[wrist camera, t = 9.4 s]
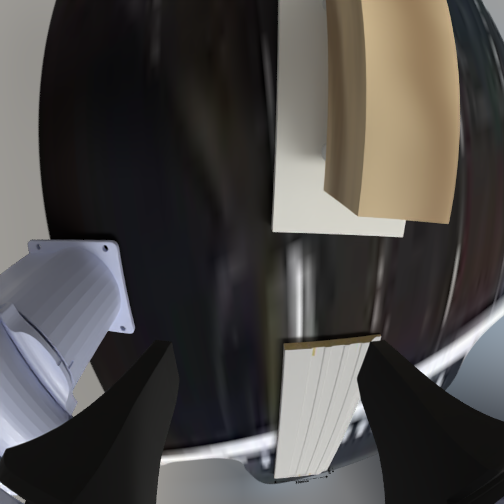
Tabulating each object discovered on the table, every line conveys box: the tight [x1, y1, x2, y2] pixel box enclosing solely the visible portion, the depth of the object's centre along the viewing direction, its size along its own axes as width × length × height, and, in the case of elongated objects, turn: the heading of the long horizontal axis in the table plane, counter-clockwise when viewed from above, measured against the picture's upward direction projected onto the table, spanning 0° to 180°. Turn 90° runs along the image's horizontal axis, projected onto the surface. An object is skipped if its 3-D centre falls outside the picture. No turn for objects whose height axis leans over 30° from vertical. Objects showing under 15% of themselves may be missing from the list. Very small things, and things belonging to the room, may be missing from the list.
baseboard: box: [274, 334, 381, 483], centre depth 27 cm, size 30×3×10 cm
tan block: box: [323, 0, 460, 224], centre depth 9 cm, size 4×14×5 cm, turn 179°
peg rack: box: [271, 0, 406, 237], centre depth 13 cm, size 9×20×3 cm, turn 178°
